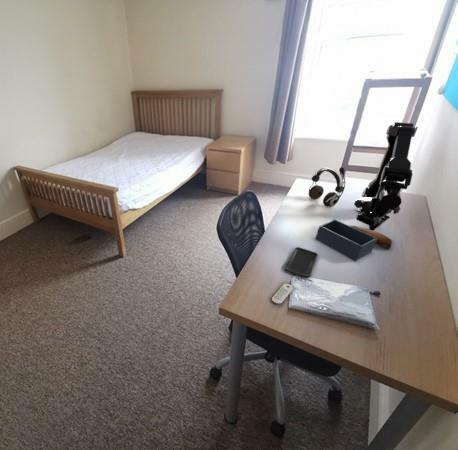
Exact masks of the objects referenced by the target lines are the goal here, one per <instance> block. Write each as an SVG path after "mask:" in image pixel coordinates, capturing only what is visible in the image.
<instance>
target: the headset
mask: <svg viewBox="0 0 458 450" xmlns="http://www.w3.org/2000/svg"><path fill="white" fill-rule="evenodd" d="M345 170H346V169H345V168H344V167H342V166H341V167H339V170H336V169H334V168H331V167H323V168H319V170H317V169H316V170H315V171H314V172H315V173H314V175H312V176H311V181H312V184H311V185H310V186H309V188H308V197H309V198H310V199H311V200H319V199H320V198H321V197H322V196H323V194H324V191H325V190H324V189H325V188H323V186H322V185H319V184H317V183H318V182H319V180H320V178H321V175H322V174H323V173H324V172H327V173H330V174H331V175H332V176H333V177H334V179H335V181H336V186H335V188H334V191H330V192H328V193H327V194H326V195H325V196H323V199H322V204H323V206H325V207H329V208H332V207H334V206H336V205H337V204H338V203H339V200H340V198H341V197H342V195H343V193H344V192H345V187H346V177H345ZM314 184H315V185H314Z"/></svg>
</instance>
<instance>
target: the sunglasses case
mask: <svg viewBox="0 0 458 450" xmlns="http://www.w3.org/2000/svg"><path fill="white" fill-rule="evenodd" d="M348 225H349V224H348ZM349 226H351V227H353V228H355V229H358V230H360V231H362V232H364V233H367V234H369V235H371V236H373V237H375V238H378V239H377V241H376V243H375V245H380V246H383V247H386V248H388V249H391V246H392V244H393V242H392V241H393V240H392V239H391V238H390V237H388V236H386V235H385V234H383V233H381V232H379V231H376V230H374V231H373V230H369V228H366V227H362V226H357V225H349Z"/></svg>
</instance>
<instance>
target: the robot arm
mask: <svg viewBox="0 0 458 450" xmlns="http://www.w3.org/2000/svg"><path fill="white" fill-rule="evenodd" d="M417 131H418V126H415V125H414V123H413V122H396V121H394V122H393V123H392V124H389V125H388V126H387V129H386V132H385V134H386V141H387V144H388V145H387V147H386V150H385V153H384V155H383V158H382V160H381V163H380V166H379V168H378V171H377V174H376V176H375V178H374V179H373V180H371V181H370V182H369V183H368V185H367V187H365V188H364V190H363V191H362V193H361V196H360V198H357V199H356V200H355V201H354V203H353V205H354V206H355V208H357V209H356V211H357V212H358V213H359V214H357V215H356V221H358V222H361V223H363V224H365V225H367V226H368V227H369V228H368V229H369V230H373V231H376V230H377V229H378V228H379V227H380V226H381V225H382V224H384V223H385V222H386V221H388V220H389V219H390V216H389V214H391V213H393V215H397V214H398V213H400V211H401V204H402V197H401V190H407V189H408V187H410V186H411V182H412V179H413V170H412V169H411V168H412V162H411V161H410V160H409V154H410V153H409V152H410V149H411V143H412V138H414V137H415V136H416V133H417ZM392 211H393V212H392Z"/></svg>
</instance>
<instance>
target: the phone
mask: <svg viewBox="0 0 458 450" xmlns="http://www.w3.org/2000/svg"><path fill="white" fill-rule="evenodd" d="M318 256H319V254H318V253H317V252H315V251H312V250H308V249H306V248H302V247H299V246H297V247H295V248H294V250H293V252H292V254H291V255H290V258H289V259H288V260H287V263H286V264H285V268H284V270H285V271H286V272H288V273H291V274H293V275H297V276H300V277H302V278H305V279H308V278H310V275H311V273H312V272H313V269H314V266H315V263H316V262H317V259H318Z"/></svg>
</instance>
